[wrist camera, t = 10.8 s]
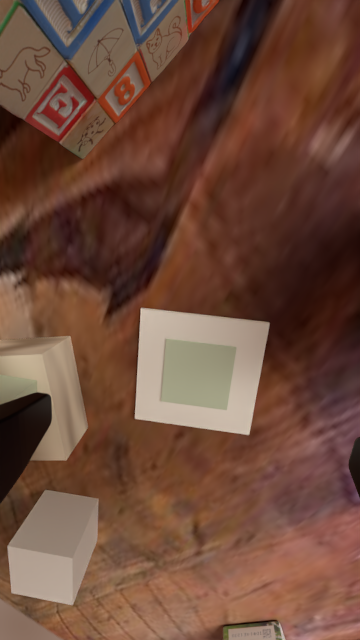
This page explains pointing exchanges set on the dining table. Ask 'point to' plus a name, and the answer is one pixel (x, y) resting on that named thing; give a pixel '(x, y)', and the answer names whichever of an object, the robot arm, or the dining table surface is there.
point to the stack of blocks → (87, 60)
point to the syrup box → (254, 631)
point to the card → (199, 369)
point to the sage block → (15, 388)
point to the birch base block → (50, 388)
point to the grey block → (54, 547)
